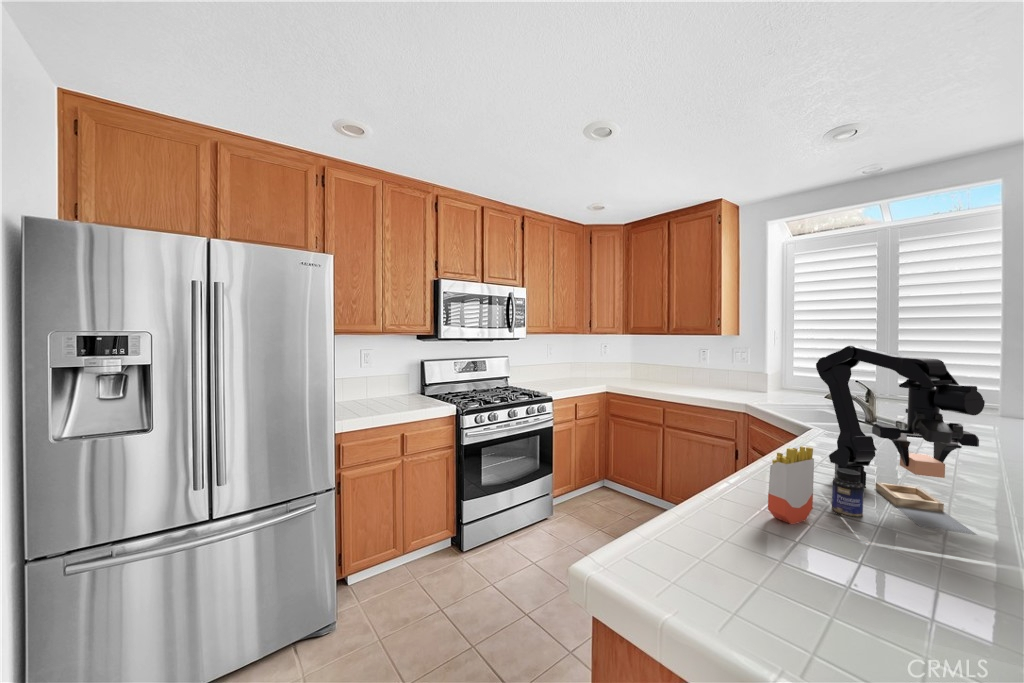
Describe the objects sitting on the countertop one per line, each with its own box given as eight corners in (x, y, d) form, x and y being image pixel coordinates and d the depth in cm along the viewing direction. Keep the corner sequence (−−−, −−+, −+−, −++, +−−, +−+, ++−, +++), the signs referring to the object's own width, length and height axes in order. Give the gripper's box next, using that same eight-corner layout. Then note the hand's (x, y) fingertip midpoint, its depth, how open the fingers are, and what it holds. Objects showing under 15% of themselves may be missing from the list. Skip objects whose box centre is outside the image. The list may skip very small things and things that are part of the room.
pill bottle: (834, 516, 101) (835, 472, 101) (828, 507, 106) (830, 465, 106) (866, 522, 98) (867, 477, 98) (859, 512, 103) (860, 469, 103)
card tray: (895, 505, 106) (895, 497, 106) (875, 489, 117) (875, 482, 117) (943, 512, 103) (943, 503, 103) (918, 494, 114) (918, 487, 114)
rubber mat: (918, 528, 95) (918, 525, 95) (873, 490, 118) (873, 488, 118) (977, 537, 91) (977, 534, 91) (918, 496, 114) (918, 494, 114)
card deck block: (899, 465, 109) (900, 452, 108) (926, 468, 106) (927, 454, 106) (915, 474, 101) (915, 460, 101) (944, 478, 99) (945, 463, 99)
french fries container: (765, 518, 99) (767, 445, 99) (793, 510, 104) (795, 441, 103) (785, 526, 95) (787, 450, 95) (812, 518, 100) (814, 446, 99)
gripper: (891, 409, 100) (889, 472, 100) (996, 416, 92) (993, 484, 93) (872, 402, 110) (870, 459, 110) (965, 408, 103) (963, 469, 103)
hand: (921, 467), depth 104 cm, fingers closed on card deck block, 5 cm apart
